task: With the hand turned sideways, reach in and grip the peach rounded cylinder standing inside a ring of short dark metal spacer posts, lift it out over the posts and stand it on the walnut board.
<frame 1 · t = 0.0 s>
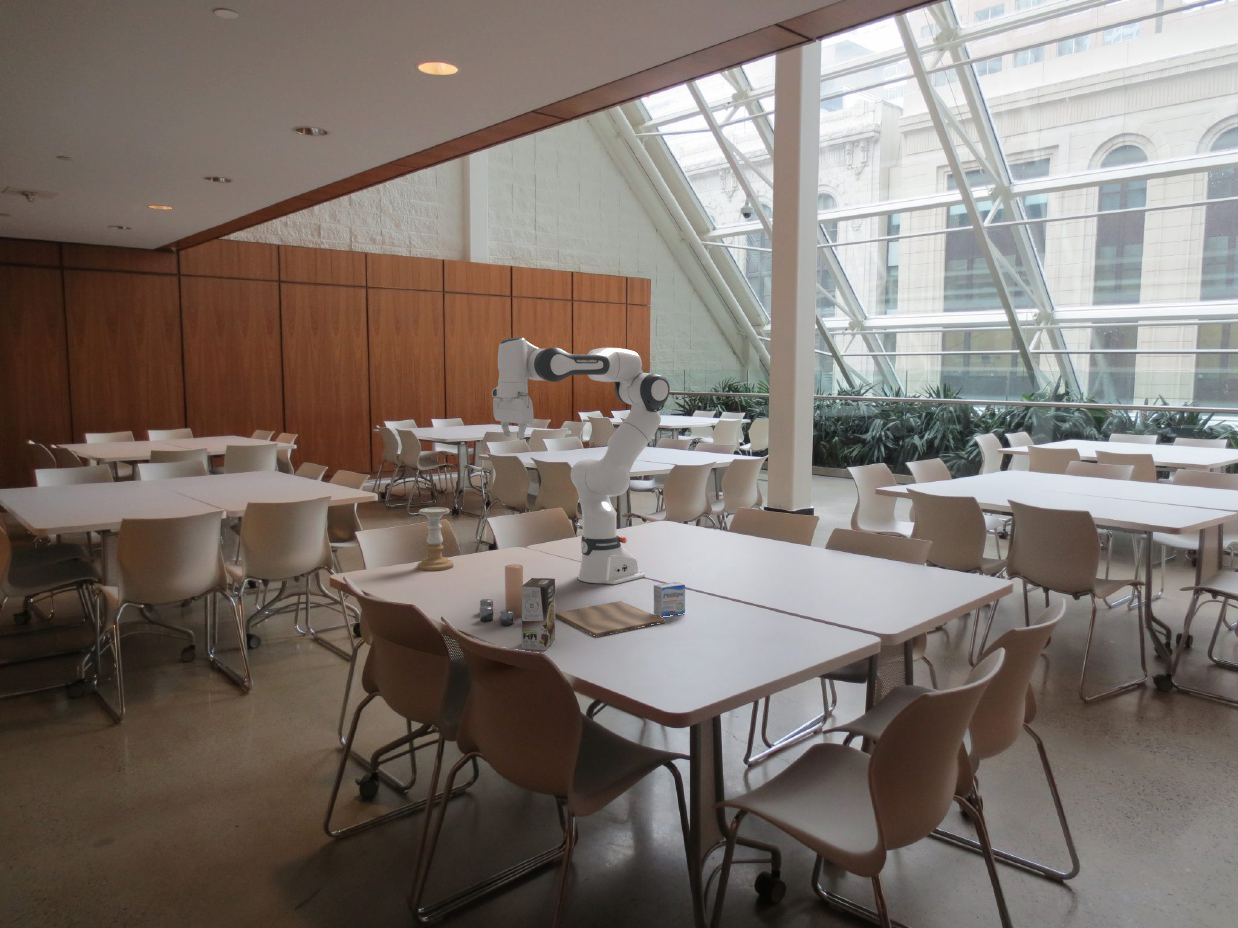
hand: (513, 437, 258), 48 cm above the table, tool pointing down, fingers open, 8 cm apart
walnut board: (609, 619, 235), on the table
medicine box: (669, 615, 240), on the table
candle holder: (435, 567, 296), on the table
peach rounded cylinder: (514, 590, 238), in the spacer posts
spacer posts: (514, 615, 239), on the table
coffee box: (539, 645, 214), on the table
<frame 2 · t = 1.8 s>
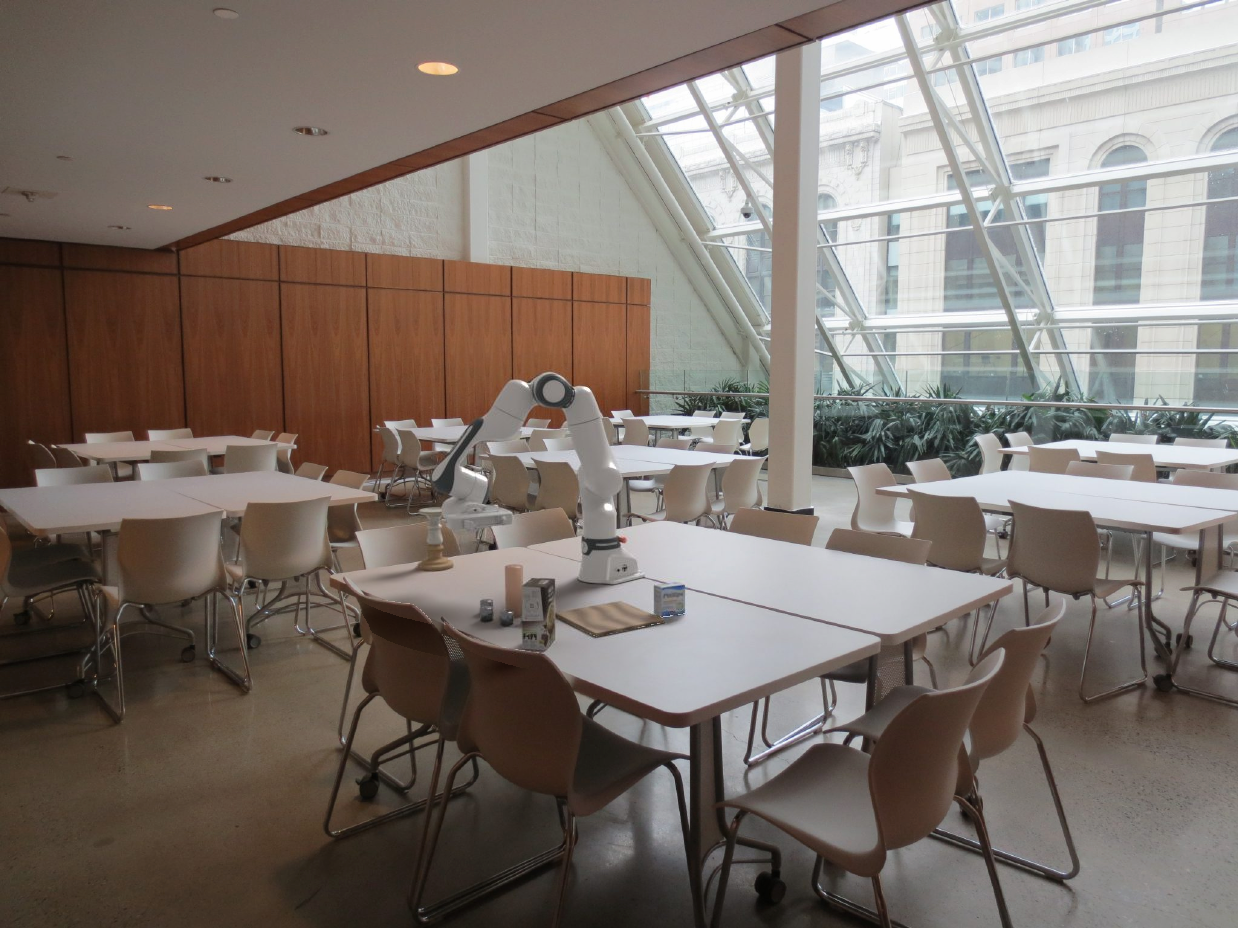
hand: (490, 524, 248), 24 cm above the table, tool horizontal, fingers open, 8 cm apart
nothing on the table moved.
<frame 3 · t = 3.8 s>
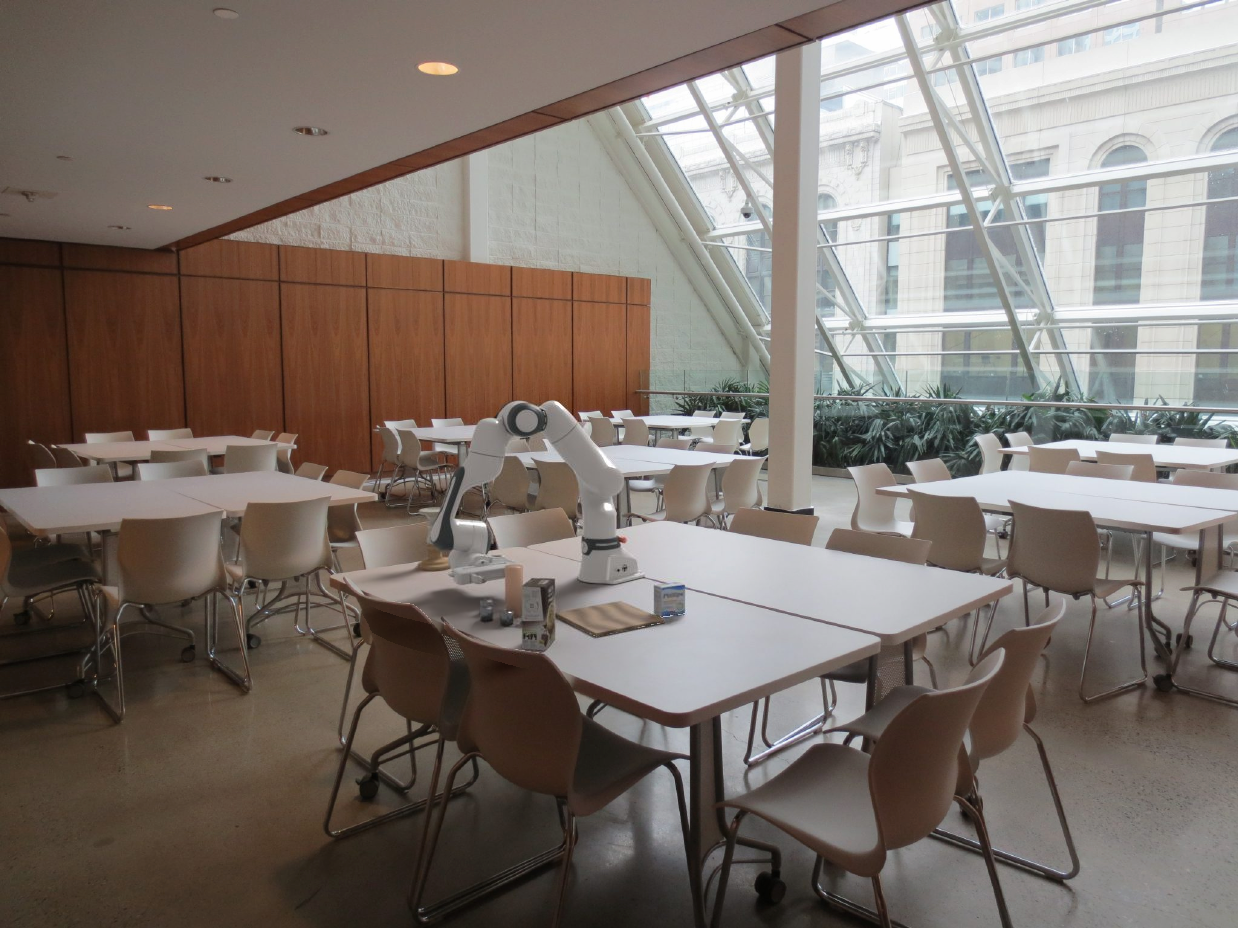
hand: (498, 578, 246), 8 cm above the table, tool horizontal, fingers open, 8 cm apart
nothing on the table moved.
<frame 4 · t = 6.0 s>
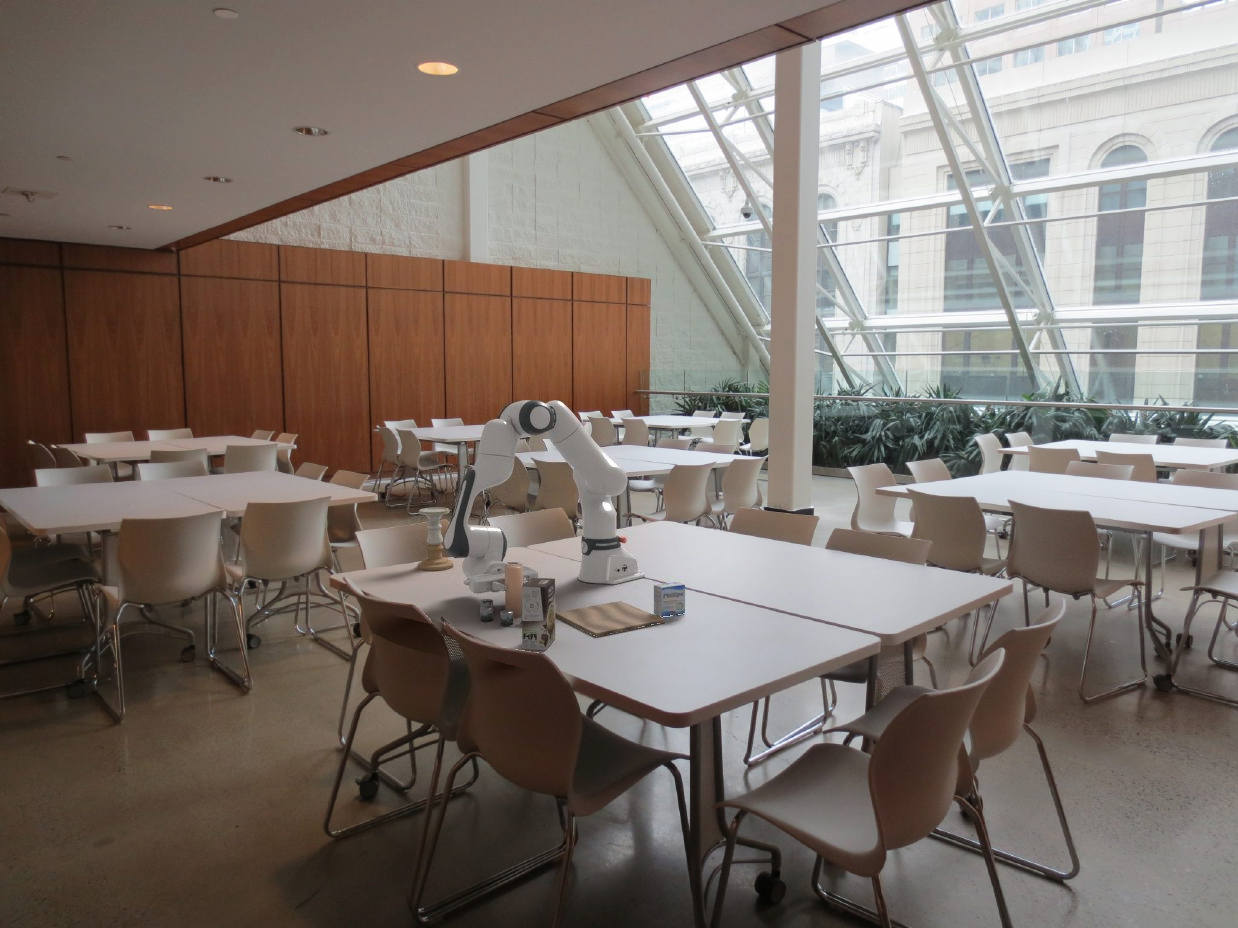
hand: (515, 586, 237), 8 cm above the table, tool horizontal, fingers closed on peach rounded cylinder, 5 cm apart
peach rounded cylinder: (514, 590, 238), in the spacer posts, touching gripper
everything else where it was.
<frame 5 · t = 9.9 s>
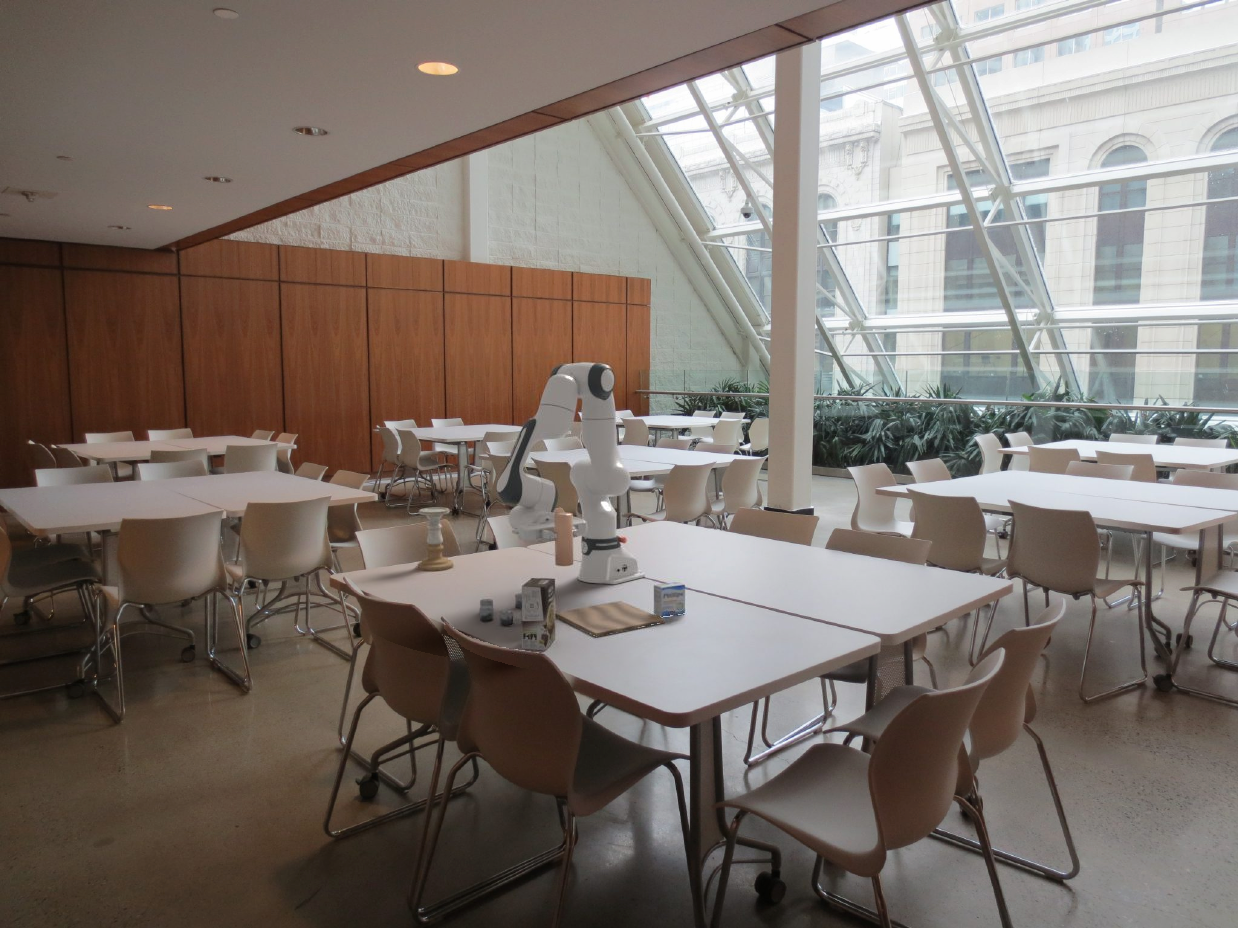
hand: (565, 534, 233), 24 cm above the table, tool horizontal, fingers closed on peach rounded cylinder, 5 cm apart
peach rounded cylinder: (563, 539, 234), point 22 cm above the table, touching gripper
everything else where it was.
when the fingers open (11 cm above the table, at t = 13.7 s): peach rounded cylinder drops 1 cm, resting on walnut board.
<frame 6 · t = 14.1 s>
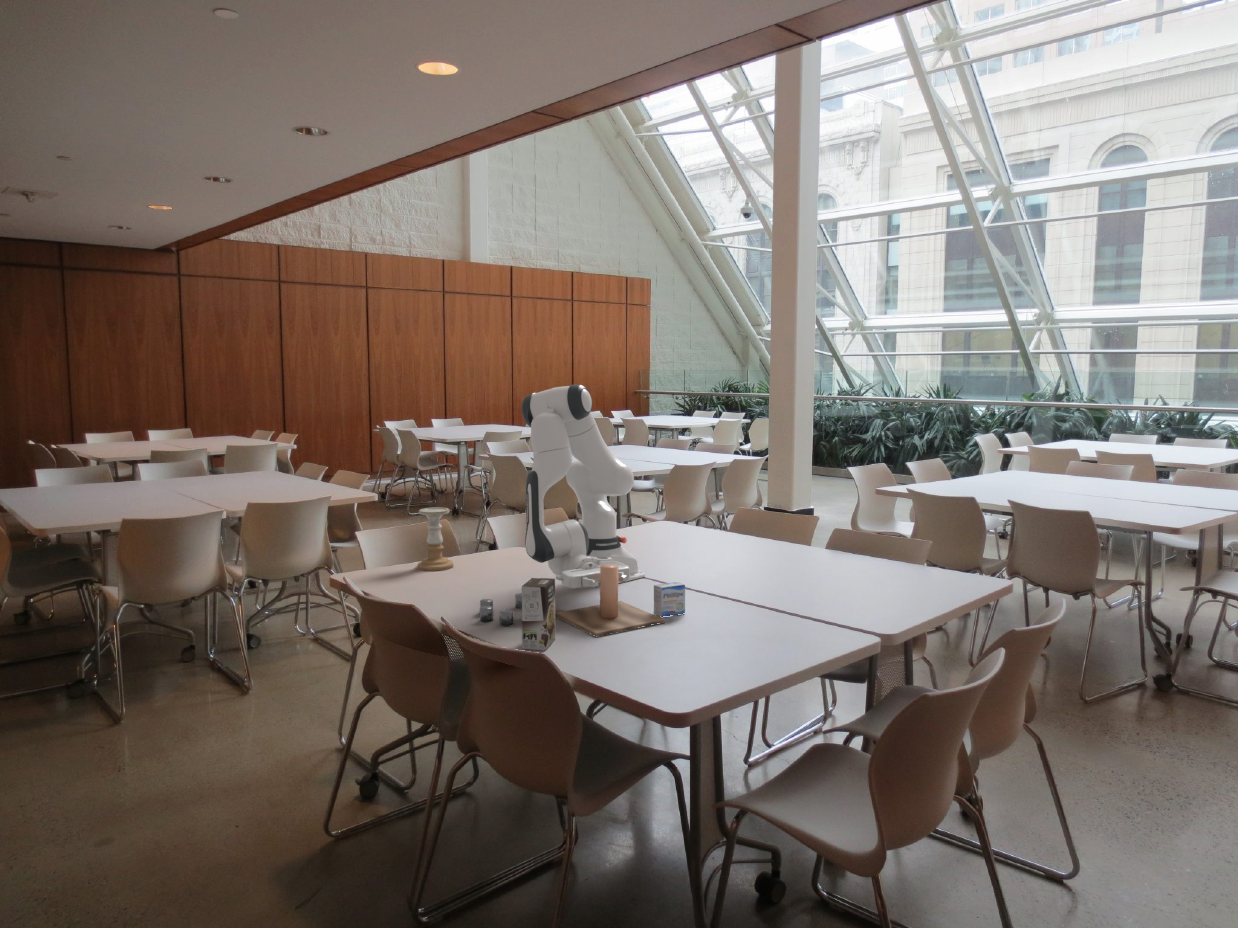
hand: (610, 581, 233), 11 cm above the table, tool horizontal, fingers open, 8 cm apart
peach rounded cylinder: (609, 591, 234), on the walnut board, point 8 cm above the table
everything else where it was.
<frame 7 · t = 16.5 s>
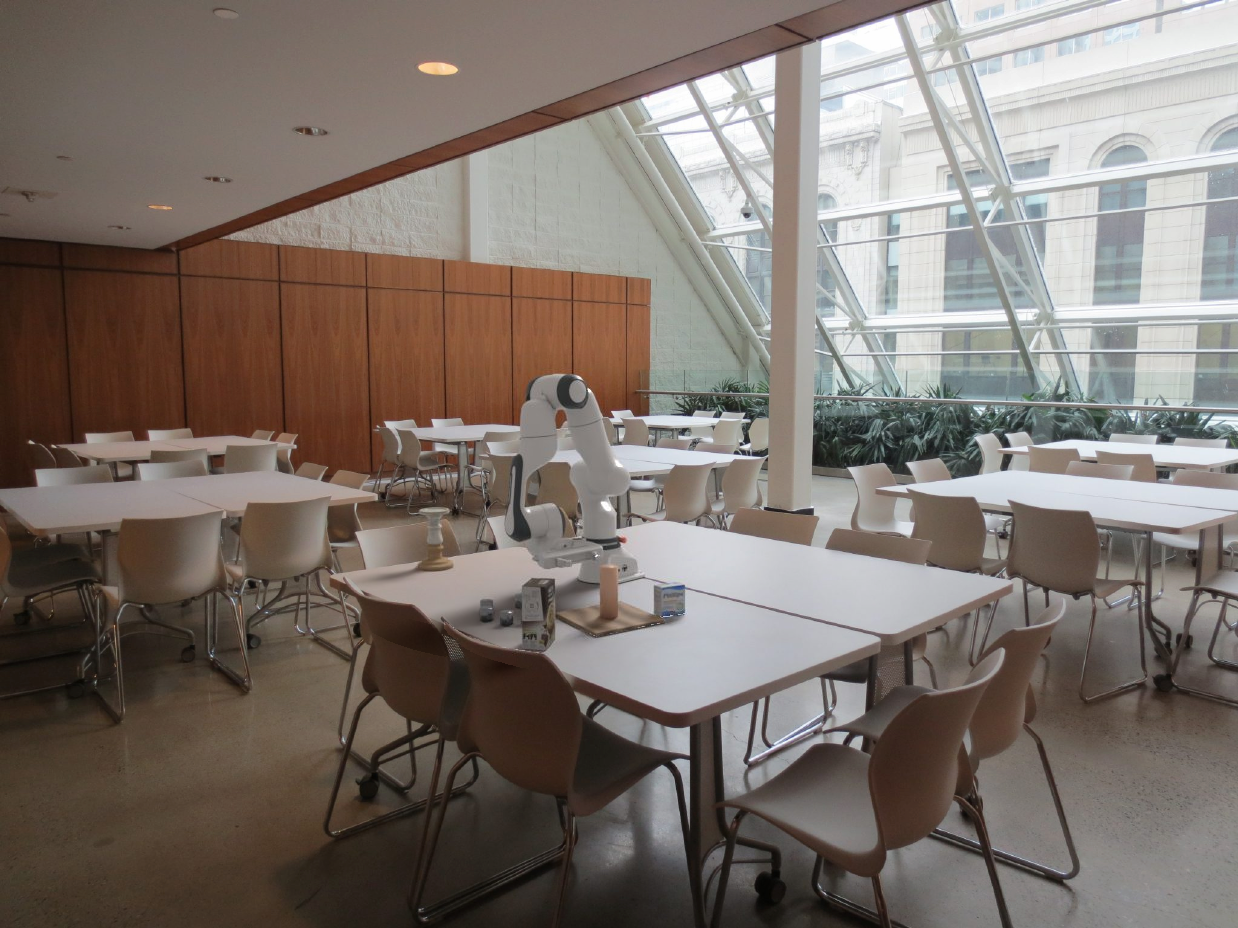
hand: (583, 561, 244), 14 cm above the table, tool horizontal, fingers open, 8 cm apart
nothing on the table moved.
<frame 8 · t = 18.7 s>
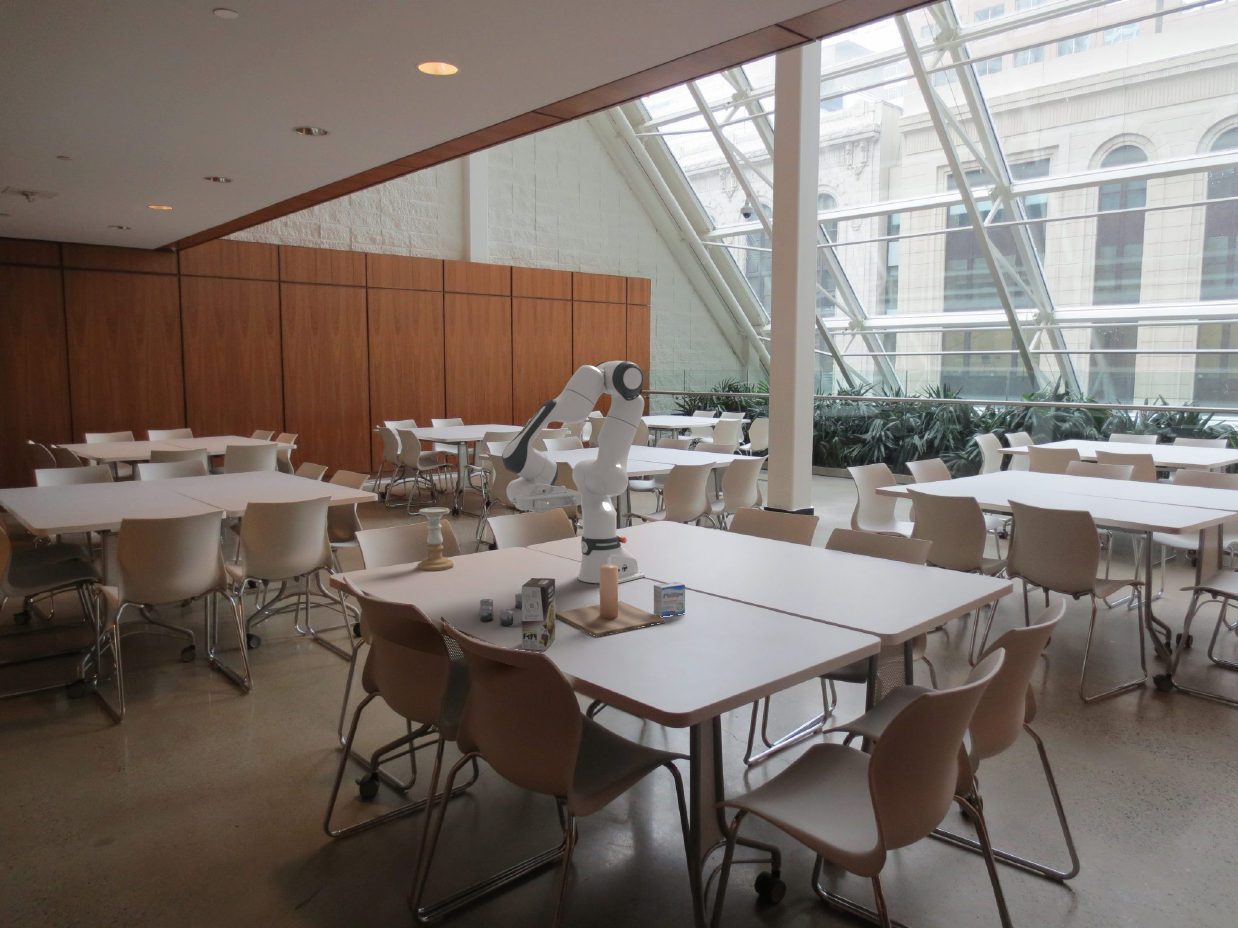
hand: (561, 504, 245), 30 cm above the table, tool horizontal, fingers open, 8 cm apart
nothing on the table moved.
at the end: peach rounded cylinder inside the target area on the walnut board (0.0 cm from its centre), point 8.0 cm above the walnut board's base; peach rounded cylinder tilted 0°; the gripper is holding nothing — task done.
